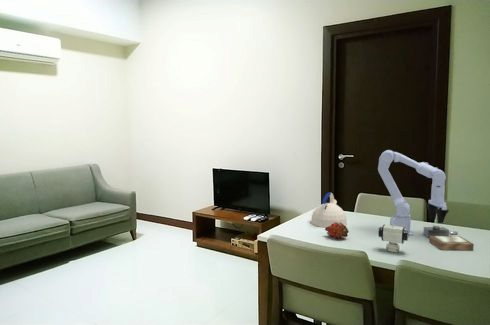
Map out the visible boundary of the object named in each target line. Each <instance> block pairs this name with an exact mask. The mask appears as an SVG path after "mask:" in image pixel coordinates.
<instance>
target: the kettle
mask: <svg viewBox="0 0 490 325" xmlns="http://www.w3.org/2000/svg"><path fill="white" fill-rule="evenodd" d="M328 198H329V202H327V200H328ZM337 203H338V201H337V199H335V196H334V194H333V193H332V192H327V193H326V194H325V195H324V197H323V199H322V200H321V204H320V205H318V206H316V208H315V209H313V210H314V211H312V214H311V221H310V223H311V224H312V225H313V226H315V227H318V228H326V227H328V226H331V225H332V224H334V222H337V223H338V224H340V223H342V224H343V225H344V226H346V227H347V225H348V223H347V222H348V220H347V215H346V213H345V211H344V210H343V208H342V207H340V206H339V205H338V204H337Z"/></svg>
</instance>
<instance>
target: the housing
mask: <svg viewBox="0 0 490 325" xmlns="http://www.w3.org/2000/svg"><path fill="white" fill-rule="evenodd" d="M422 231H423V233H422V236H424V237H425V236H426V238H427V239H429V238H430V236H449V231H450V229H448V228H447V227H444V226H443V227H441V226H439V225H432V226H424V227H423V230H422Z"/></svg>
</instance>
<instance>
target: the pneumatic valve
mask: <svg viewBox="0 0 490 325" xmlns="http://www.w3.org/2000/svg"><path fill="white" fill-rule="evenodd" d="M378 238H380V239H381V241H383V242H388V243H386V244H385V248H386V250H387V251H388V252H390V253H398V252H400V245H399V244H402V245H403V244H404V243H405V241H406V242H407V241H409V235H408V231H406V229H405V227H399V226H395V225H392V226H391V225H390V224H383V225H382V227H381V226H380V227H378Z"/></svg>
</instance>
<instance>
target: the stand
mask: <svg viewBox="0 0 490 325" xmlns="http://www.w3.org/2000/svg"><path fill="white" fill-rule="evenodd" d="M428 239H429V241H428V242H429V243H430V244H432V245H433V246H435V247H436V248H437V249H439V250H441V251H474V245H475V243H473V242H472V241H470V240H468V239H466V238H464V237H462V236H459V235H450V236H430V238H428Z"/></svg>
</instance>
